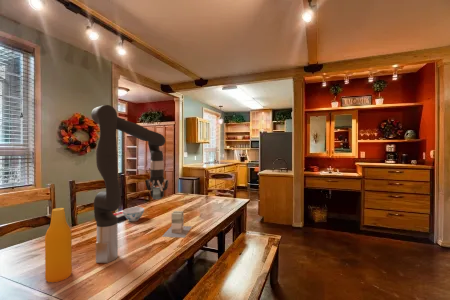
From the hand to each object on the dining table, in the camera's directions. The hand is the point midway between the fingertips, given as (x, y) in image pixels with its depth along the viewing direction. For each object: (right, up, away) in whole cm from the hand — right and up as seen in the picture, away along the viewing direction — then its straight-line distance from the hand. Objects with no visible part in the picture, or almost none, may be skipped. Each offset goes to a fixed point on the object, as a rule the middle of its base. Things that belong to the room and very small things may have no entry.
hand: (157, 197), depth 135 cm
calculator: (-42, -26, +40) cm, 64 cm away
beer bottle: (-31, -27, -37) cm, 55 cm away
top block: (+10, -18, +11) cm, 23 cm away
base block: (+10, -24, +12) cm, 28 cm away
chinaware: (-29, -25, +38) cm, 54 cm away
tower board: (+10, -26, +12) cm, 30 cm away
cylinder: (0, -1, 0) cm, 1 cm away
